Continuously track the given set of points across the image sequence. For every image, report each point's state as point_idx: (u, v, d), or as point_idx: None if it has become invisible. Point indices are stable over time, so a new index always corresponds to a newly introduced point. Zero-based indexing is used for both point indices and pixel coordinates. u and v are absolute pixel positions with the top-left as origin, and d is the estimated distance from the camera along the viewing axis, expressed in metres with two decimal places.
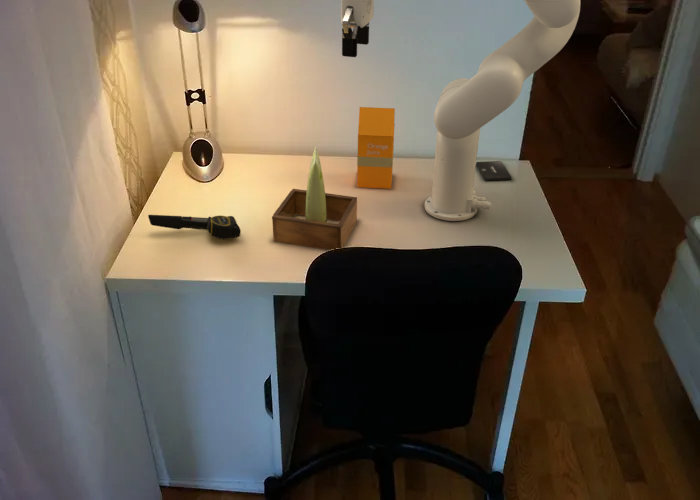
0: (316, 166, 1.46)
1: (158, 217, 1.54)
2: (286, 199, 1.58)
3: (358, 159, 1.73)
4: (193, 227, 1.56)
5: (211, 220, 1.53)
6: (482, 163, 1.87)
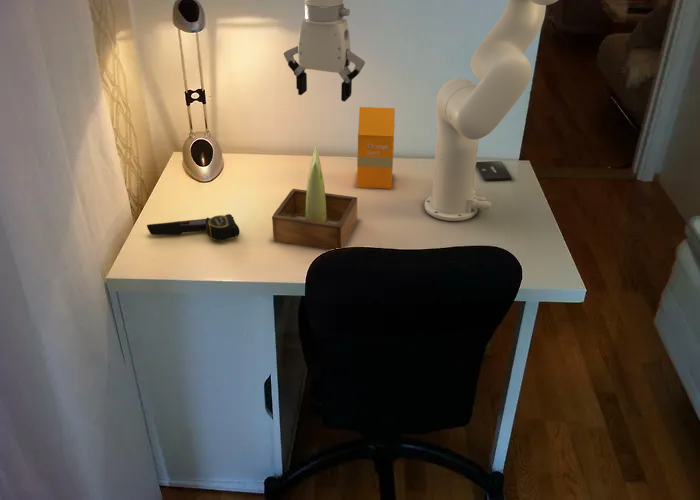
0: (316, 166, 1.46)
1: (156, 226, 1.55)
2: (286, 199, 1.58)
3: (358, 159, 1.73)
4: (193, 231, 1.56)
5: (209, 223, 1.53)
6: (482, 163, 1.87)
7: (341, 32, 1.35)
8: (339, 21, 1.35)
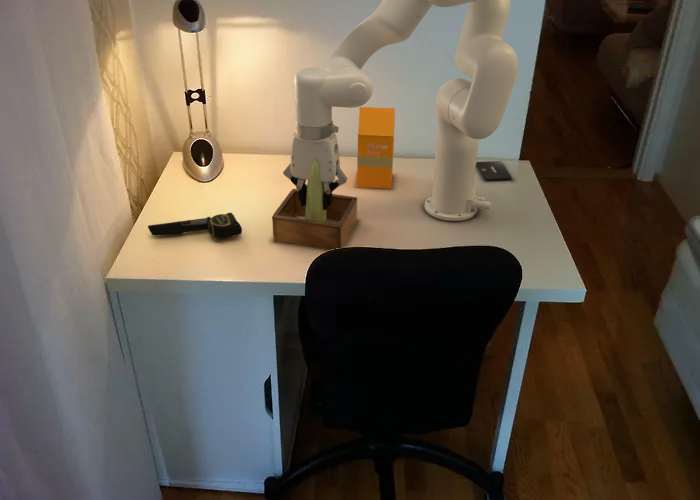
0: (316, 166, 1.46)
1: (158, 227, 1.55)
2: (286, 199, 1.58)
3: (358, 159, 1.73)
4: (194, 230, 1.57)
5: (211, 222, 1.54)
6: (482, 163, 1.87)
7: (331, 147, 1.44)
8: (329, 137, 1.44)
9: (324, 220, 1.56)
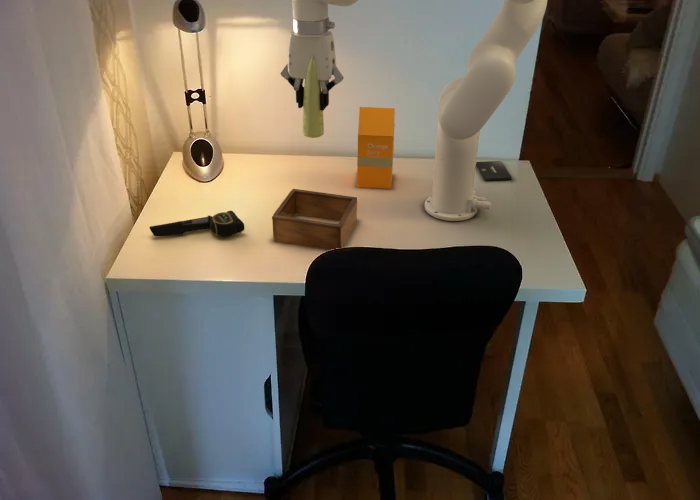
0: (313, 63, 1.49)
1: (159, 227, 1.54)
2: (286, 199, 1.58)
3: (358, 159, 1.73)
4: (196, 229, 1.57)
5: (213, 220, 1.54)
6: (482, 163, 1.87)
7: (327, 43, 1.48)
8: (325, 33, 1.48)
9: (321, 122, 1.59)
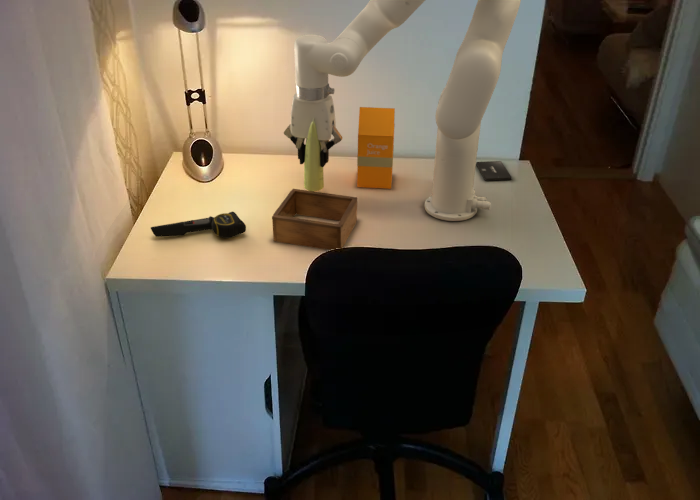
0: (314, 125, 1.60)
1: (161, 228, 1.54)
2: (286, 199, 1.58)
3: (358, 159, 1.73)
4: (197, 230, 1.57)
5: (215, 221, 1.54)
6: (482, 163, 1.87)
7: (327, 108, 1.59)
8: (326, 98, 1.58)
9: (321, 177, 1.70)
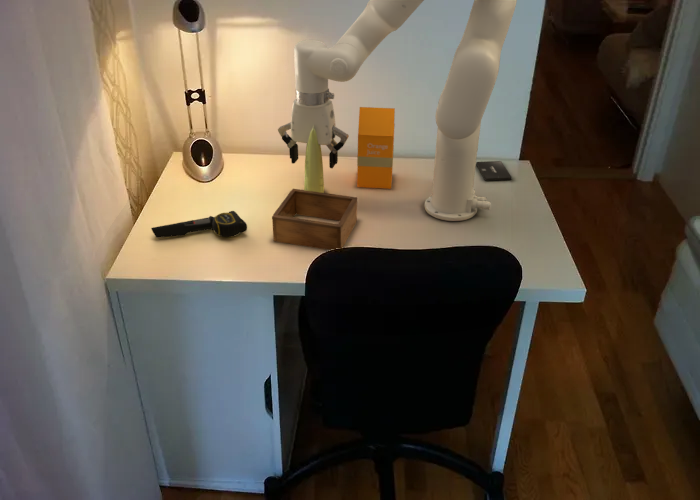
0: (314, 132, 1.61)
1: (161, 228, 1.54)
2: (286, 199, 1.58)
3: (358, 159, 1.73)
4: (198, 230, 1.57)
5: (216, 221, 1.54)
6: (482, 163, 1.87)
7: (327, 113, 1.59)
8: (326, 103, 1.59)
9: (321, 183, 1.71)
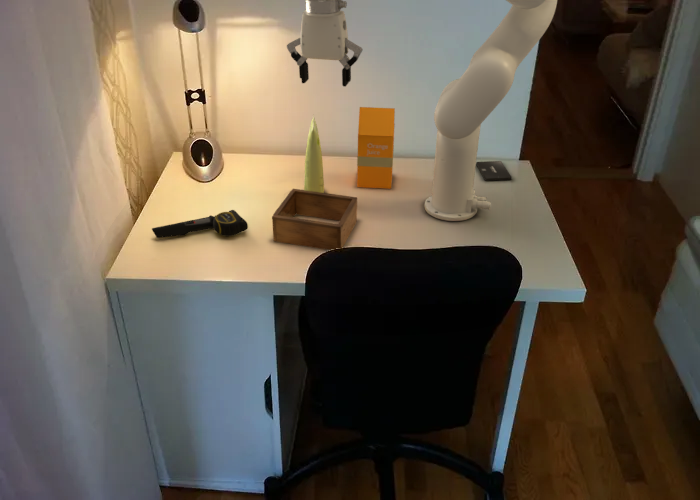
0: (314, 132, 1.61)
1: (162, 229, 1.54)
2: (286, 199, 1.58)
3: (358, 159, 1.73)
4: (198, 230, 1.57)
5: (216, 220, 1.55)
6: (482, 163, 1.87)
7: (340, 23, 1.49)
8: (337, 13, 1.49)
9: (321, 183, 1.71)
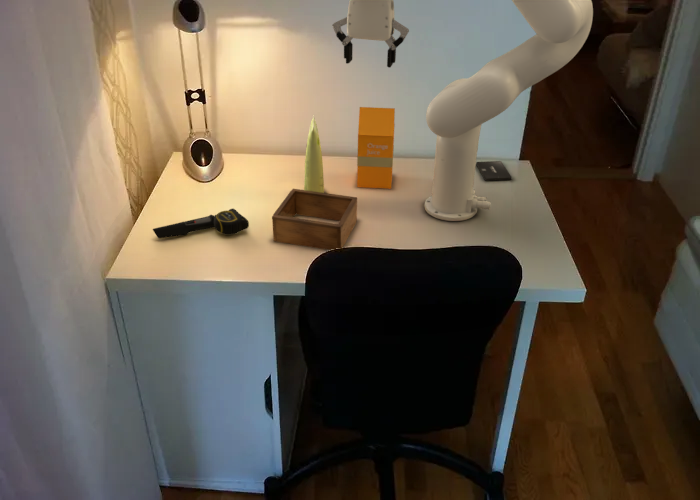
0: (314, 132, 1.61)
1: (163, 229, 1.54)
2: (286, 199, 1.58)
3: (358, 159, 1.73)
4: (199, 229, 1.57)
5: (217, 219, 1.55)
6: (482, 163, 1.87)
7: (388, 2, 1.49)
8: None
9: (321, 183, 1.71)
